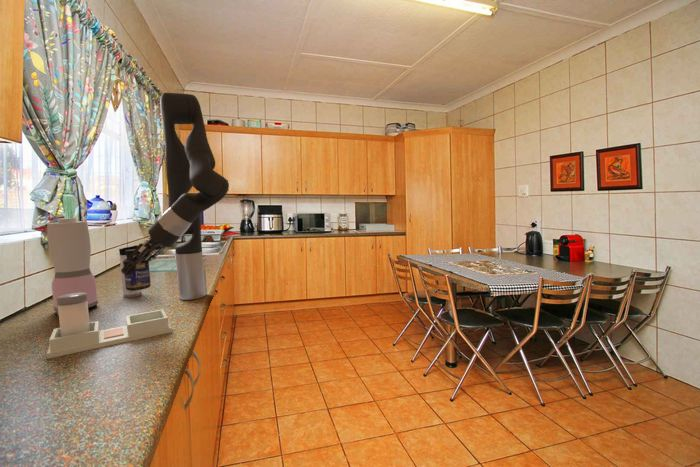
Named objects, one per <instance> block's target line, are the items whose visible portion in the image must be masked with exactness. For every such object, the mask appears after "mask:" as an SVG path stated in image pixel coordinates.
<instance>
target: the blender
mask: <svg viewBox="0 0 700 467" xmlns="http://www.w3.org/2000/svg"><path fill="white" fill-rule="evenodd" d="M88 224H89V223H88V222H87V220H85V221H81V220H79V221H78V219H77V217H64V218H62V217H61V218H57V222H49V223H47V224H46V232H47V242H48V252H49V256H50V260H51V262H52V266H53V268H54V277H53V279H52V281H51V291H52V301H53V311H54V312H55V313H56V315H57V316H59V313H58V305H57V300H56V298H57V297H59V296H62V295H66V294H72V293H87V299H88V300H87V303H88V308H91V307H94V306H98V304H99V299H98V292H97V282H96V278H95V276H94V273H92V271H91V268H90V266H91V265H90V263H91V255H92V254H91V253H92V252H91V251H92V249H91V237H90V230H89V225H88Z"/></svg>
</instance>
